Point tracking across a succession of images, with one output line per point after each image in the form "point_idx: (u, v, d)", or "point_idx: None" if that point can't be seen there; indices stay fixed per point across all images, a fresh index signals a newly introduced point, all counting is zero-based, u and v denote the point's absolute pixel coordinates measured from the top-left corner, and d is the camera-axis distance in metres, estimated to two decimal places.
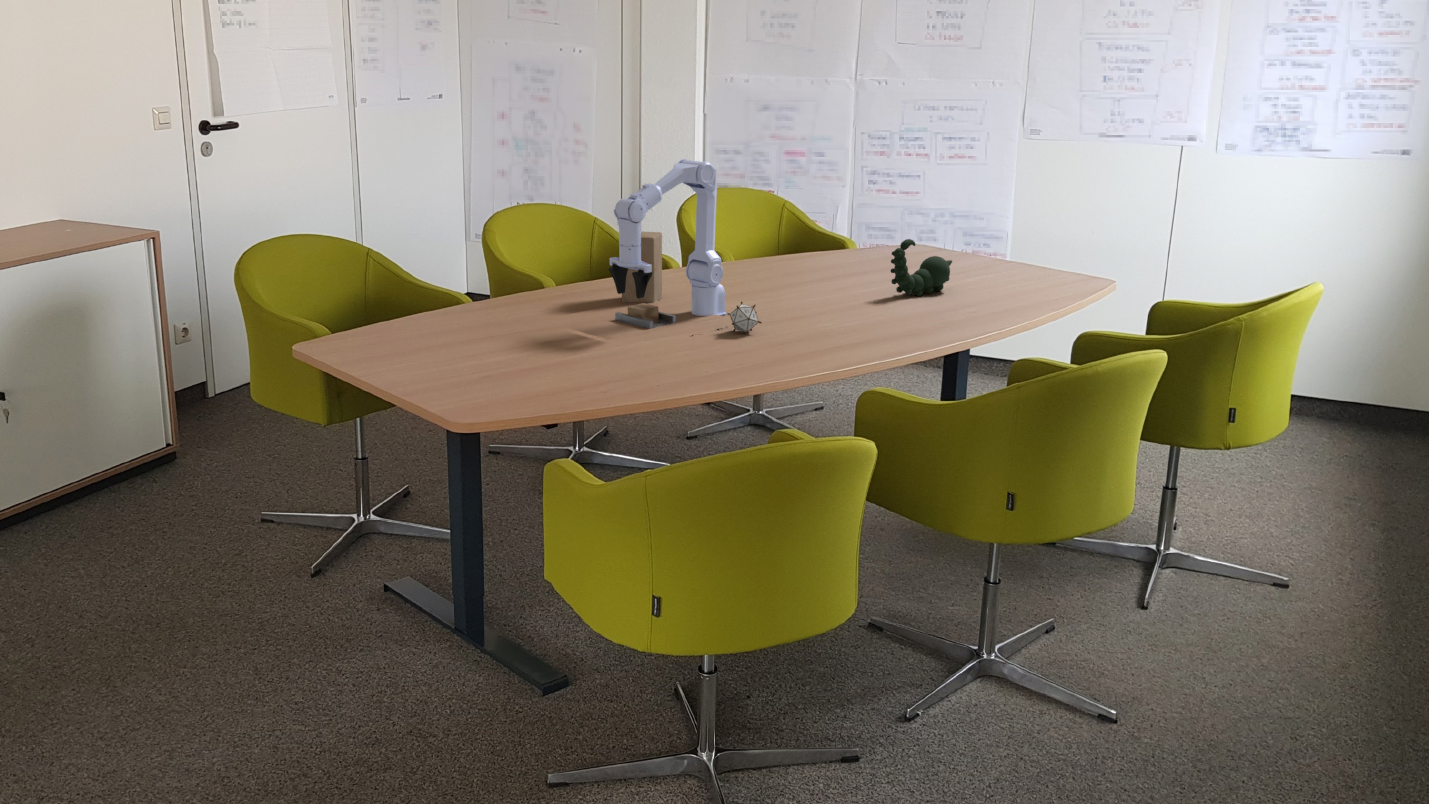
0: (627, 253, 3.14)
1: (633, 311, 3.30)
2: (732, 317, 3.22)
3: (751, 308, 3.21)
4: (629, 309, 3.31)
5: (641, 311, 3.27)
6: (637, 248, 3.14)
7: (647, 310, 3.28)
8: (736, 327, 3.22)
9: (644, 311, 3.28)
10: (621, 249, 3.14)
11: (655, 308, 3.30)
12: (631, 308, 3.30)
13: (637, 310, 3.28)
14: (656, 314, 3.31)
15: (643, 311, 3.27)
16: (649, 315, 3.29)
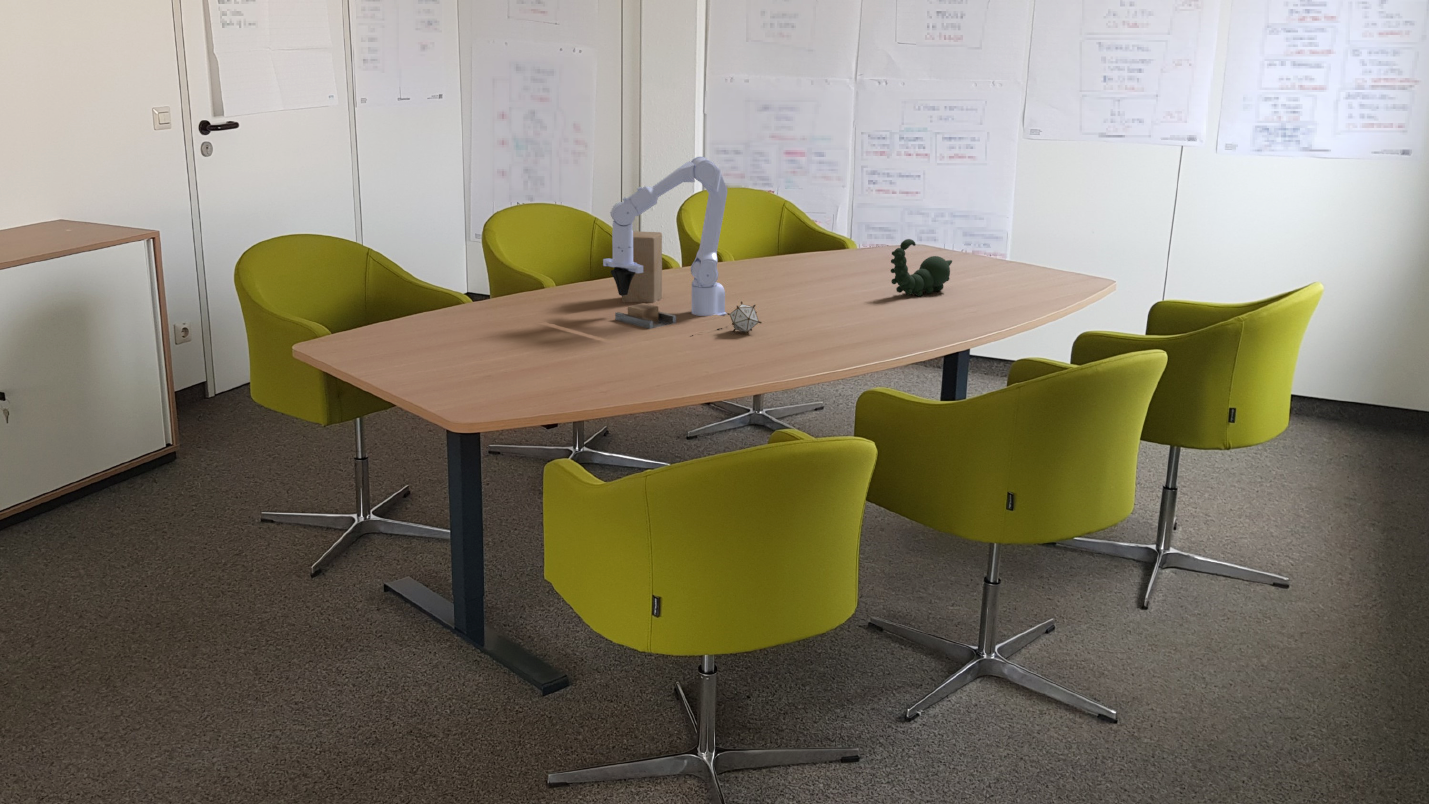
0: (620, 254, 3.29)
1: (633, 311, 3.30)
2: (732, 317, 3.22)
3: (751, 308, 3.21)
4: (629, 309, 3.31)
5: (641, 311, 3.27)
6: (629, 250, 3.30)
7: (647, 310, 3.28)
8: (736, 327, 3.22)
9: (644, 311, 3.28)
10: (614, 251, 3.30)
11: (655, 308, 3.30)
12: (631, 308, 3.30)
13: (637, 310, 3.28)
14: (656, 314, 3.31)
15: (643, 311, 3.27)
16: (649, 315, 3.29)
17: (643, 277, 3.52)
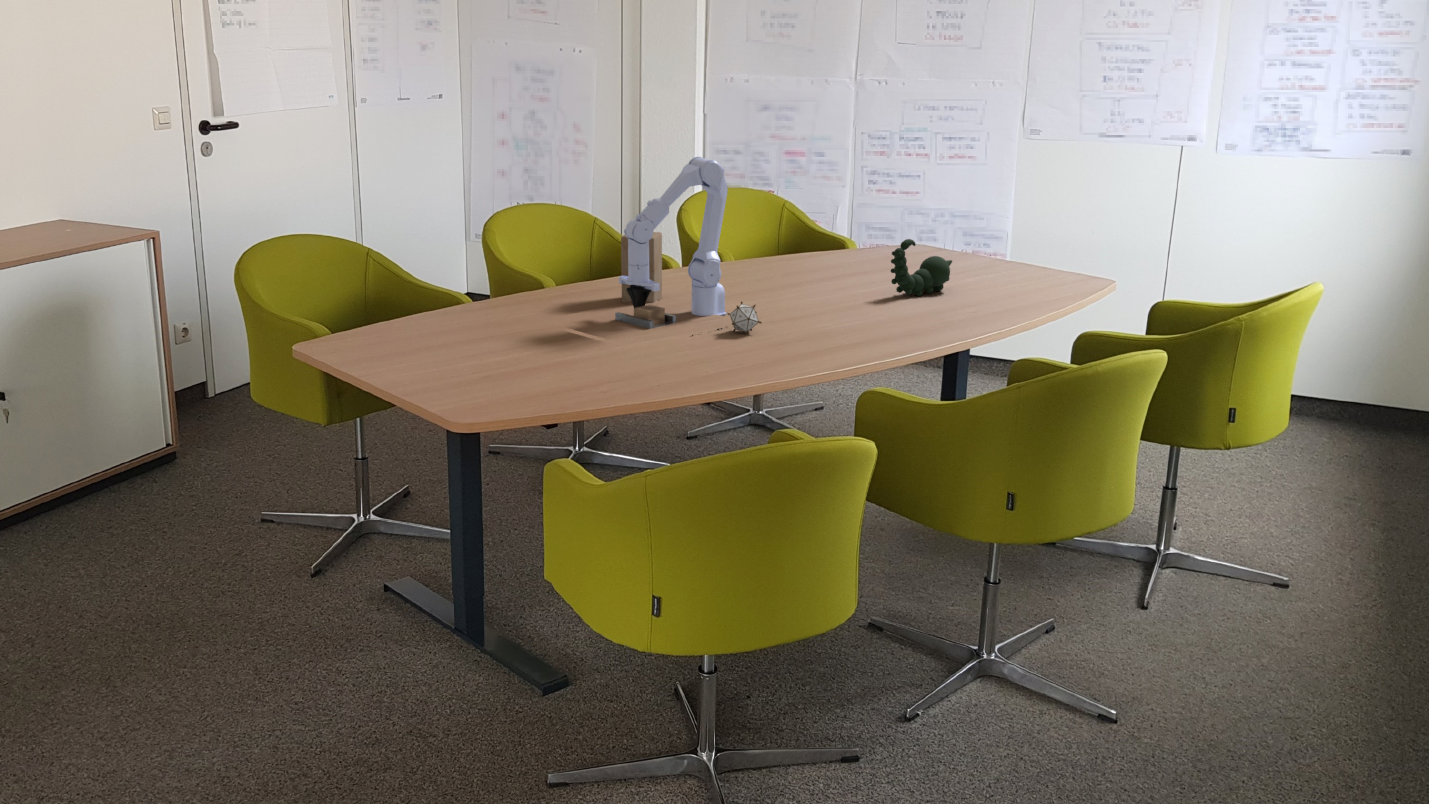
0: (636, 272, 3.26)
1: (639, 313, 3.28)
2: (732, 317, 3.22)
3: (751, 308, 3.21)
4: (635, 311, 3.29)
5: (647, 313, 3.25)
6: (645, 268, 3.27)
7: (653, 312, 3.26)
8: (736, 327, 3.22)
9: (650, 313, 3.26)
10: (630, 268, 3.27)
11: (661, 310, 3.29)
12: (637, 310, 3.28)
13: (643, 311, 3.27)
14: (662, 316, 3.29)
15: (649, 313, 3.25)
16: (655, 316, 3.27)
17: None
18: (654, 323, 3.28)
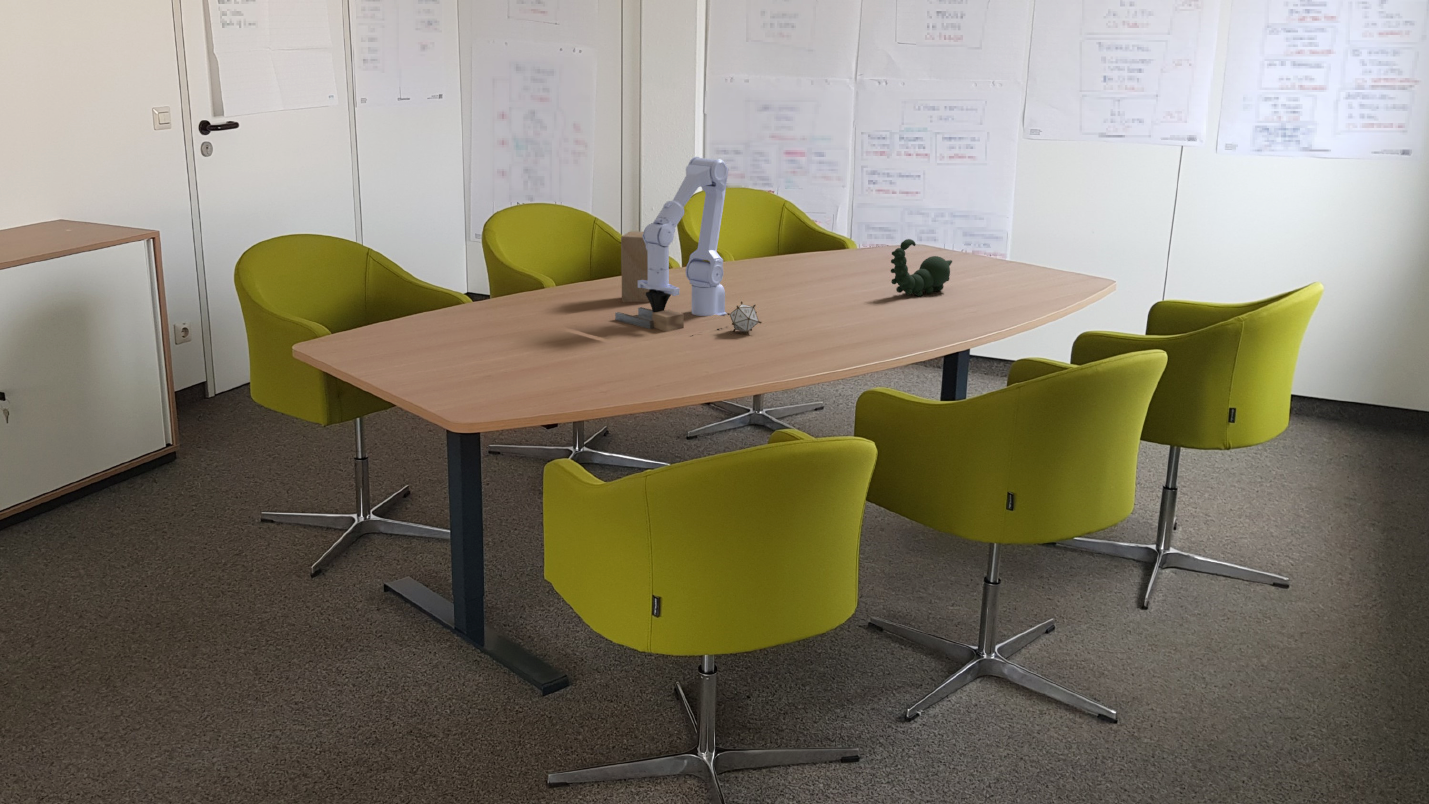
0: (656, 276, 3.21)
1: (658, 318, 3.23)
2: (732, 317, 3.22)
3: (751, 308, 3.21)
4: (654, 316, 3.24)
5: (665, 318, 3.20)
6: (665, 272, 3.22)
7: (672, 317, 3.21)
8: (736, 327, 3.22)
9: (669, 318, 3.20)
10: (649, 272, 3.22)
11: (680, 315, 3.23)
12: (656, 315, 3.23)
13: (661, 316, 3.21)
14: (681, 321, 3.24)
15: (667, 318, 3.20)
16: (673, 322, 3.22)
17: (643, 277, 3.52)
18: (672, 329, 3.22)
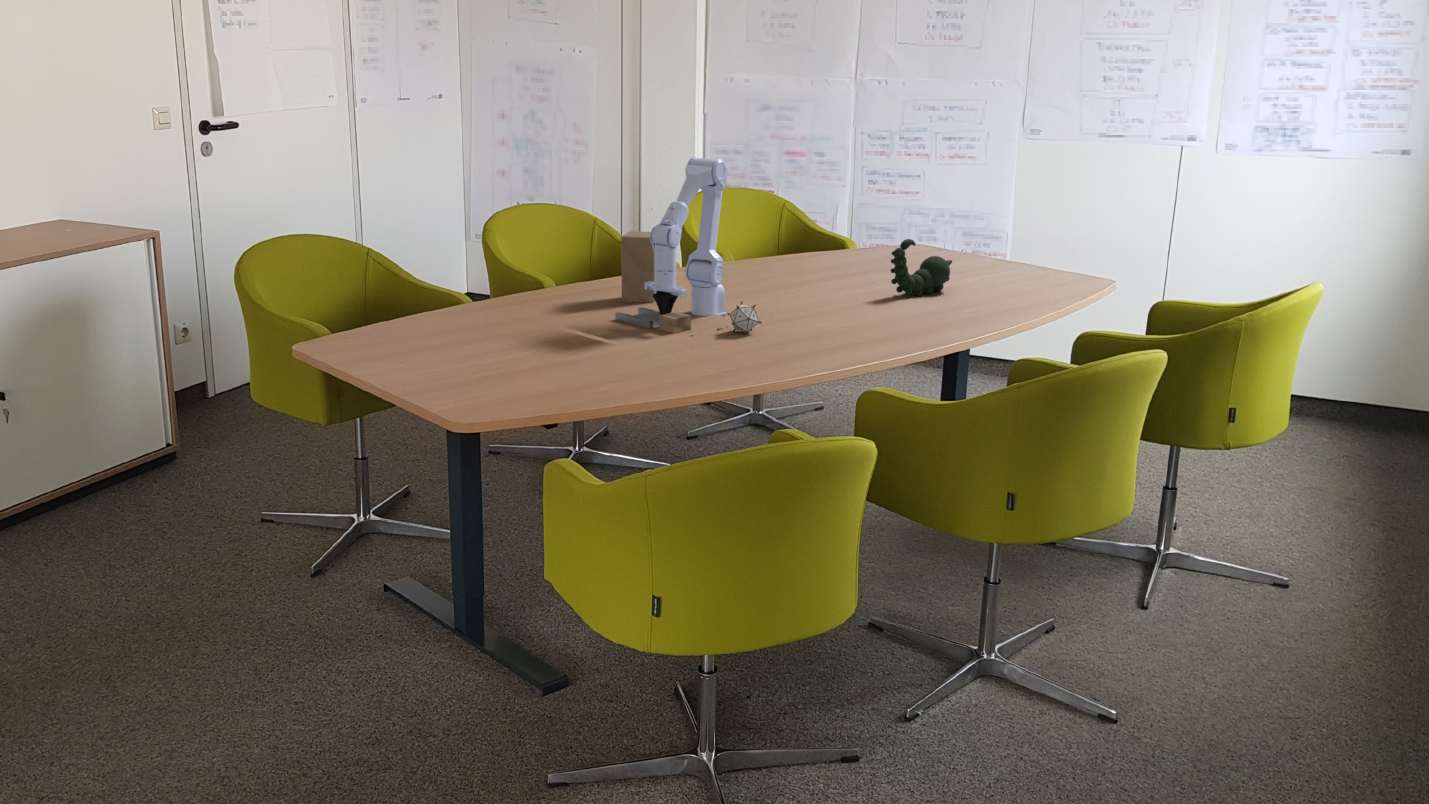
0: (663, 278, 3.19)
1: (665, 320, 3.21)
2: (732, 317, 3.22)
3: (751, 308, 3.21)
4: (661, 318, 3.22)
5: (673, 320, 3.18)
6: (672, 273, 3.20)
7: (679, 319, 3.19)
8: (736, 327, 3.22)
9: (676, 320, 3.19)
10: (657, 274, 3.20)
11: (687, 317, 3.21)
12: (663, 317, 3.21)
13: (668, 318, 3.19)
14: (688, 323, 3.22)
15: (675, 320, 3.18)
16: (681, 324, 3.20)
17: (643, 277, 3.52)
18: (680, 331, 3.20)
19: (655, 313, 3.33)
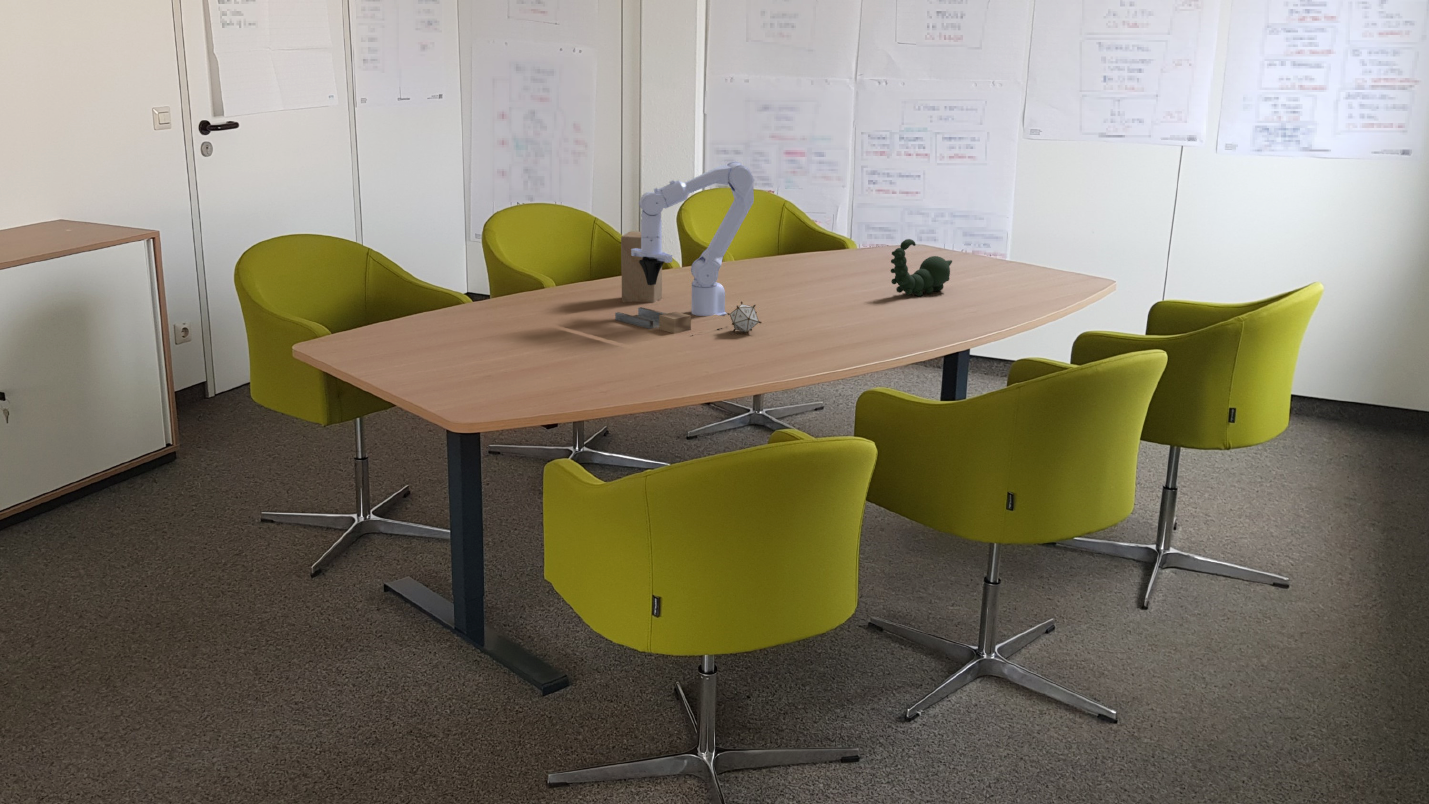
0: (649, 244, 3.30)
1: (665, 320, 3.21)
2: (732, 317, 3.22)
3: (751, 308, 3.21)
4: (661, 318, 3.22)
5: (673, 320, 3.18)
6: (658, 239, 3.31)
7: (679, 319, 3.19)
8: (736, 327, 3.22)
9: (676, 320, 3.19)
10: (643, 240, 3.31)
11: (687, 317, 3.21)
12: (663, 317, 3.21)
13: (668, 319, 3.19)
14: (688, 323, 3.22)
15: (675, 320, 3.18)
16: (681, 324, 3.20)
17: (643, 277, 3.52)
18: (680, 331, 3.20)
19: (655, 313, 3.33)
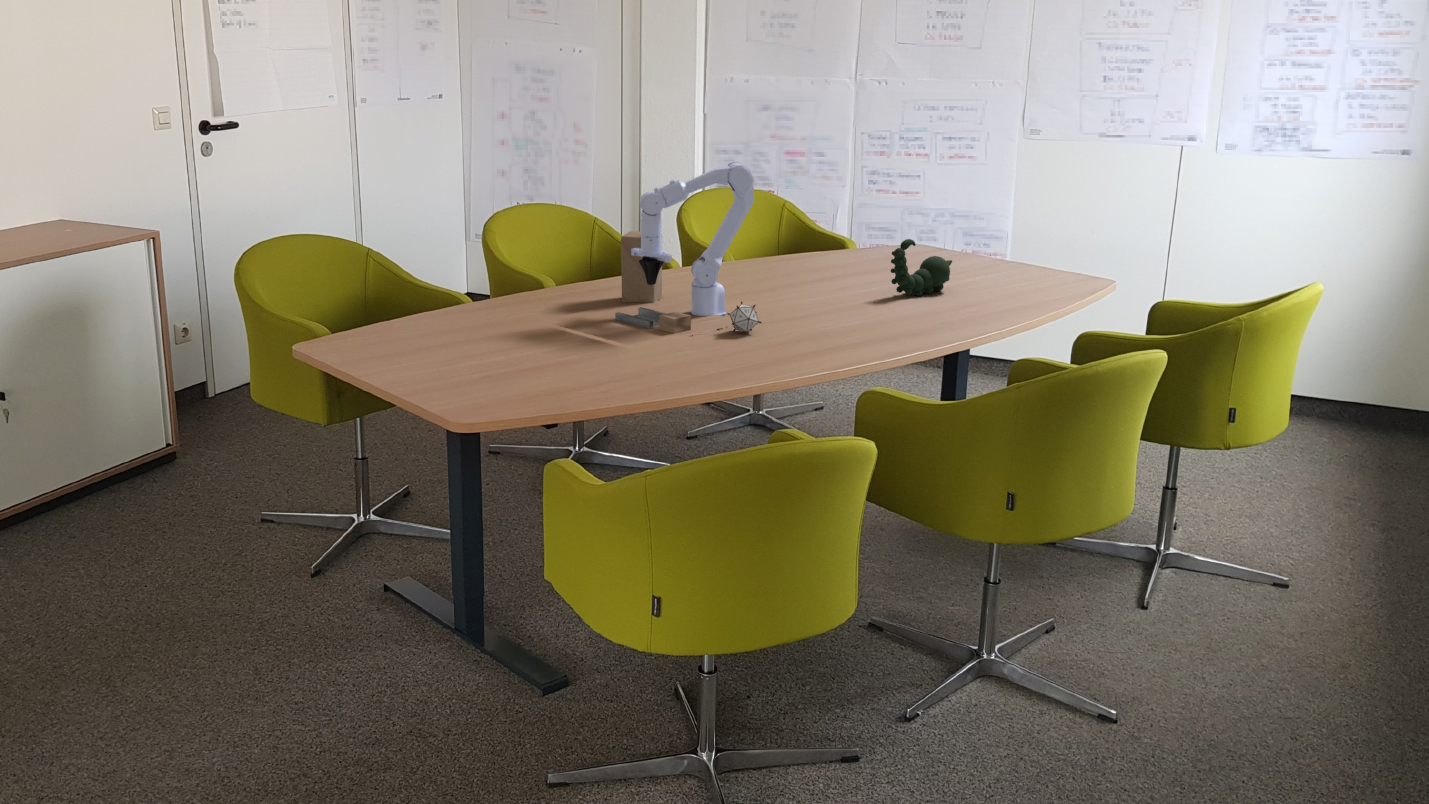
0: (649, 244, 3.31)
1: (665, 320, 3.21)
2: (732, 317, 3.22)
3: (751, 308, 3.21)
4: (661, 318, 3.22)
5: (673, 320, 3.18)
6: (658, 239, 3.31)
7: (679, 319, 3.19)
8: (736, 327, 3.22)
9: (676, 320, 3.19)
10: (643, 240, 3.31)
11: (687, 317, 3.21)
12: (663, 317, 3.21)
13: (668, 319, 3.19)
14: (688, 323, 3.22)
15: (675, 320, 3.18)
16: (681, 324, 3.20)
17: (643, 277, 3.52)
18: (680, 331, 3.20)
19: (655, 313, 3.33)
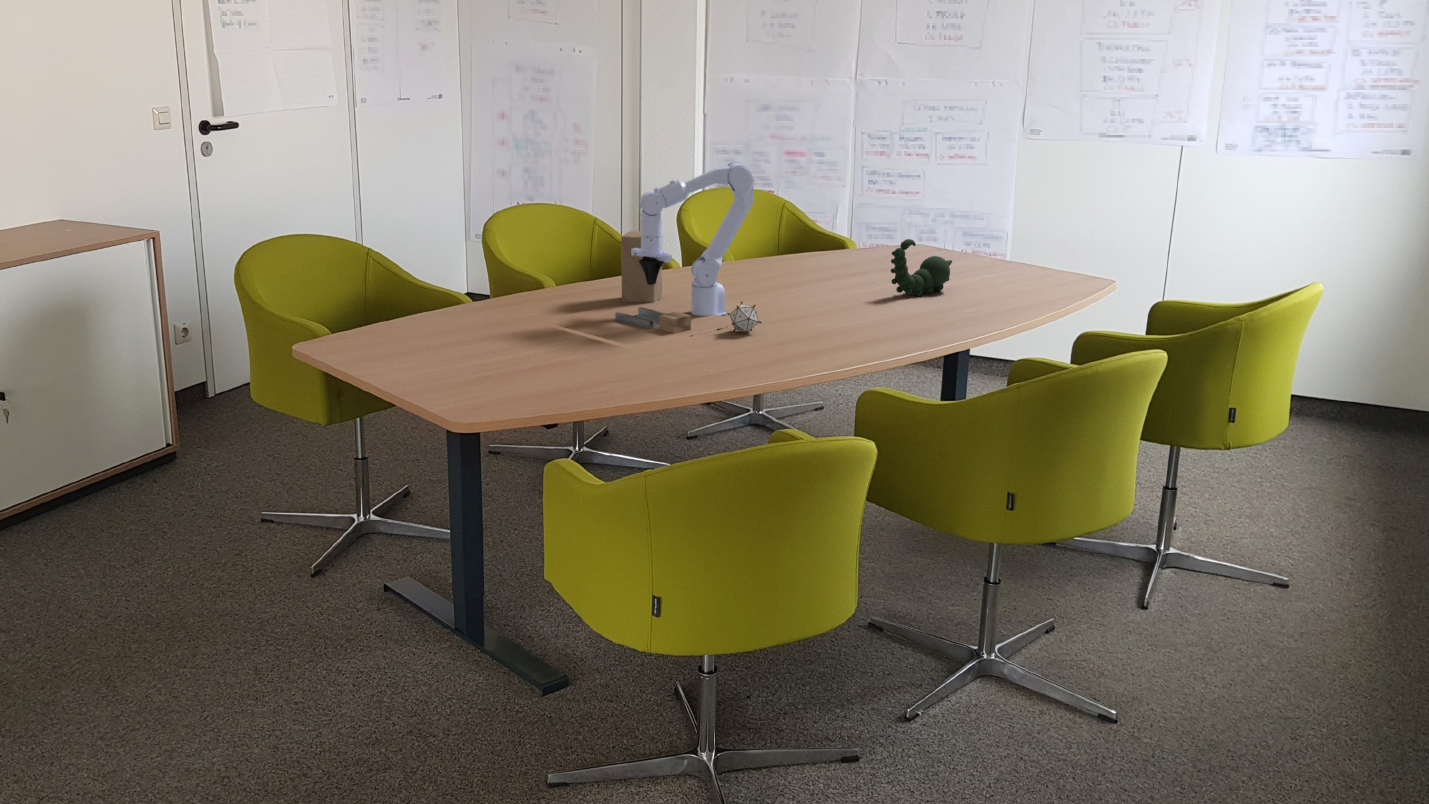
0: (649, 244, 3.31)
1: (665, 320, 3.21)
2: (732, 317, 3.22)
3: (751, 308, 3.21)
4: (661, 318, 3.22)
5: (673, 320, 3.18)
6: (658, 239, 3.31)
7: (679, 319, 3.19)
8: (736, 327, 3.22)
9: (676, 320, 3.19)
10: (643, 240, 3.31)
11: (687, 317, 3.21)
12: (663, 317, 3.21)
13: (668, 319, 3.19)
14: (688, 323, 3.22)
15: (675, 320, 3.18)
16: (681, 324, 3.20)
17: (643, 277, 3.52)
18: (680, 331, 3.20)
19: (655, 313, 3.33)
